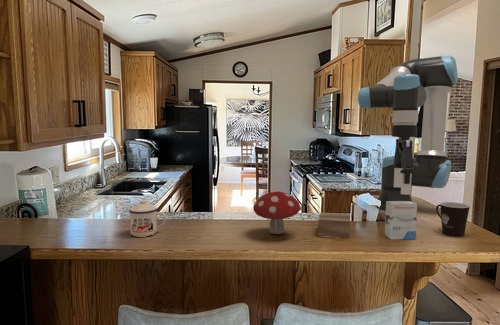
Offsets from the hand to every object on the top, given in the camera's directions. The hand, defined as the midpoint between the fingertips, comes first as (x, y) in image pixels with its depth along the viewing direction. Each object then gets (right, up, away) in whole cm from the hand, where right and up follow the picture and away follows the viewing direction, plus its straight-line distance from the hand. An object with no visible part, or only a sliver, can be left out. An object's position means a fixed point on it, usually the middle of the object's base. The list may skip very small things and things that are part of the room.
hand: (401, 190), depth 117 cm
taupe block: (-20, -15, +7) cm, 26 cm away
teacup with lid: (-84, -16, +7) cm, 85 cm away
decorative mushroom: (-40, -16, +5) cm, 43 cm away
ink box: (0, -16, +2) cm, 16 cm away
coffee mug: (+20, -15, +7) cm, 26 cm away
